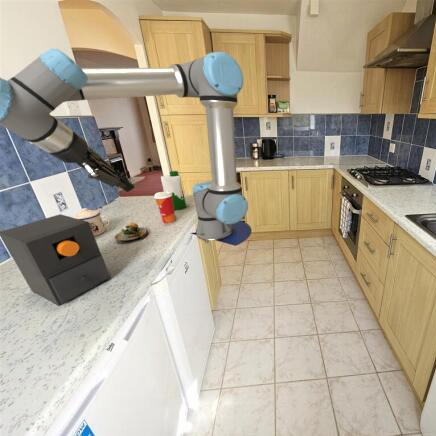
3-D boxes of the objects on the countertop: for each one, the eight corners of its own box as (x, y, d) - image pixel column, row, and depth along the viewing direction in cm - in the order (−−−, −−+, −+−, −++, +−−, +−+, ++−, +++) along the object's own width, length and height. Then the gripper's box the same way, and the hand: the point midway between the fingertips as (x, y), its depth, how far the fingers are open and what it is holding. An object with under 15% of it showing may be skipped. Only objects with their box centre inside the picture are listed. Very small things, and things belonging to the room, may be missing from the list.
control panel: (100, 251, 73) (88, 221, 70) (43, 277, 62) (25, 243, 58) (72, 242, 80) (60, 214, 76) (16, 263, 68) (-2, 232, 64)
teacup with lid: (77, 239, 102) (66, 214, 98) (84, 230, 110) (75, 206, 105) (110, 234, 106) (102, 209, 102) (115, 226, 114) (107, 202, 109)
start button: (81, 251, 68) (76, 239, 66) (64, 259, 64) (58, 246, 63) (76, 250, 69) (71, 237, 67) (59, 257, 65) (53, 244, 64)
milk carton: (188, 207, 134) (181, 172, 126) (171, 212, 129) (162, 175, 121) (182, 204, 140) (175, 169, 132) (166, 208, 135) (157, 172, 127)
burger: (110, 240, 101) (104, 223, 98) (137, 228, 111) (133, 213, 108) (127, 246, 96) (121, 229, 93) (154, 234, 105) (150, 218, 102)
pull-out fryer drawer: (112, 278, 75) (104, 256, 72) (65, 304, 65) (52, 281, 62) (84, 266, 82) (75, 246, 79) (36, 289, 71) (24, 267, 68)
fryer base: (110, 277, 77) (100, 251, 73) (59, 306, 66) (43, 277, 62) (83, 266, 83) (72, 242, 80) (31, 291, 72) (16, 263, 68)
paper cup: (161, 219, 120) (154, 192, 115) (178, 216, 123) (172, 190, 117) (160, 225, 114) (152, 196, 108) (177, 222, 116) (171, 194, 111)
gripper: (40, 133, 61) (114, 181, 83) (51, 167, 56) (126, 208, 78) (68, 118, 62) (133, 169, 84) (81, 150, 57) (147, 195, 79)
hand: (130, 188), depth 81 cm, fingers closed
